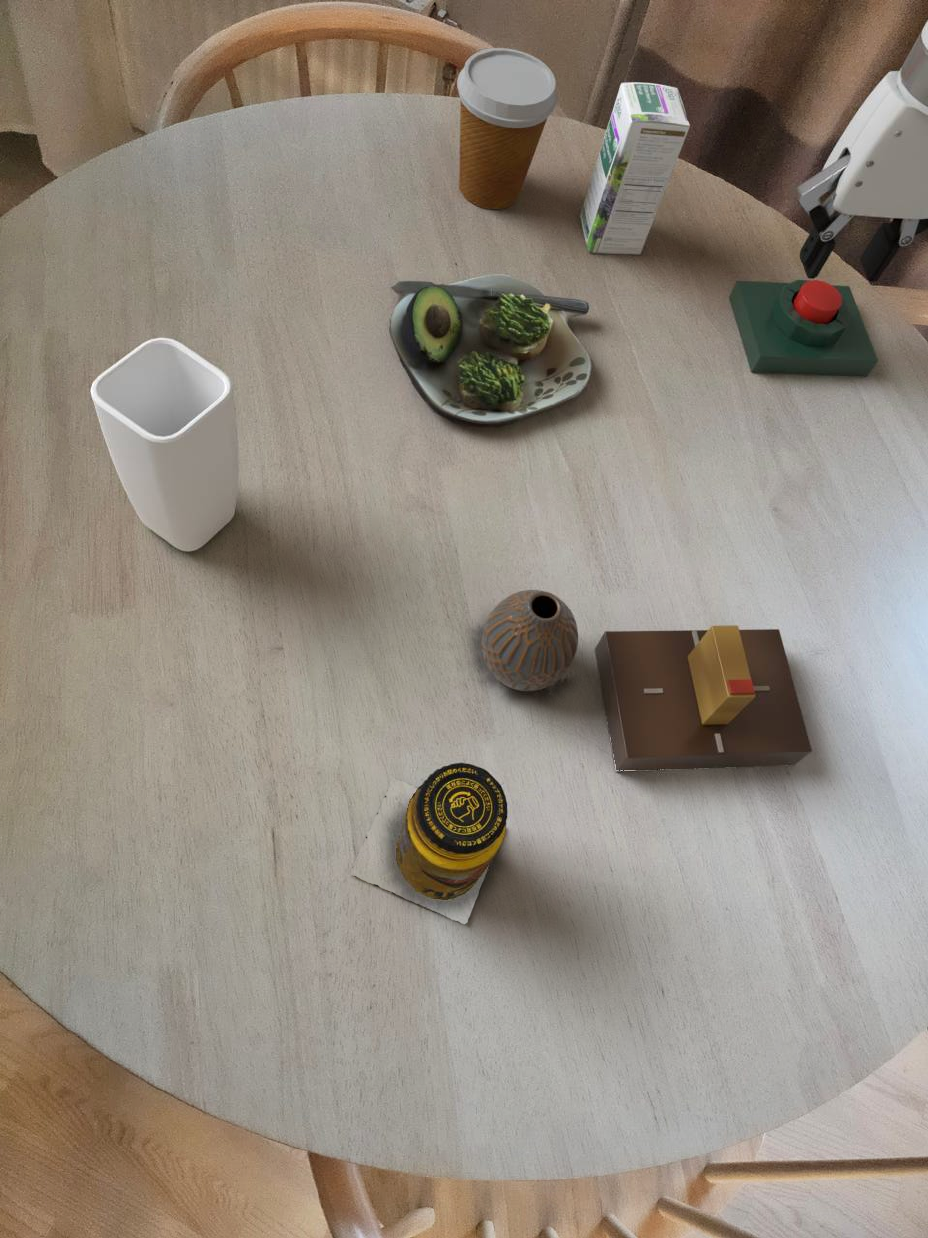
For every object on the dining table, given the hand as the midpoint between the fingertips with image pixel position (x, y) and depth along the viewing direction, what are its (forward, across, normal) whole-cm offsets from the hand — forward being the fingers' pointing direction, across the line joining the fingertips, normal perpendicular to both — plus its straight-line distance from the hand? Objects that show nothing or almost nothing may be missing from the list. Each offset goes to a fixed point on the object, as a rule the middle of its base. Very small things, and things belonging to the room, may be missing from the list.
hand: (838, 267), depth 86 cm
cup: (+9, +57, +22) cm, 62 cm away
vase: (+9, +32, +35) cm, 48 cm away
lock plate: (+9, +19, +39) cm, 44 cm away
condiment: (+9, +40, +49) cm, 64 cm away
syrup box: (+9, +17, -13) cm, 23 cm away
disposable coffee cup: (+9, +29, -19) cm, 36 cm away
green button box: (+9, 0, 0) cm, 9 cm away
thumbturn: (+6, +19, +39) cm, 44 cm away
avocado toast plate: (+9, +32, +4) cm, 33 cm away
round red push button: (+5, 0, 0) cm, 5 cm away
